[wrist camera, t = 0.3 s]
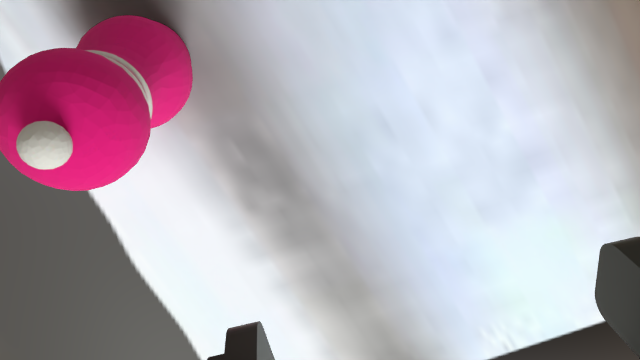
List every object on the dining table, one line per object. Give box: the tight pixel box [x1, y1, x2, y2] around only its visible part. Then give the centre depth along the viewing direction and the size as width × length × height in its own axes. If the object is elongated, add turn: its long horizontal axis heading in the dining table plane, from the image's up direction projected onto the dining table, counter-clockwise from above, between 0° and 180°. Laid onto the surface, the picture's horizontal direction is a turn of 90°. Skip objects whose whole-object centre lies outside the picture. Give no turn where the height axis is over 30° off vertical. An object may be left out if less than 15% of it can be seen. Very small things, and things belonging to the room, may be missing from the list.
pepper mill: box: [0, 15, 192, 191], centre depth 25 cm, size 7×7×20 cm
